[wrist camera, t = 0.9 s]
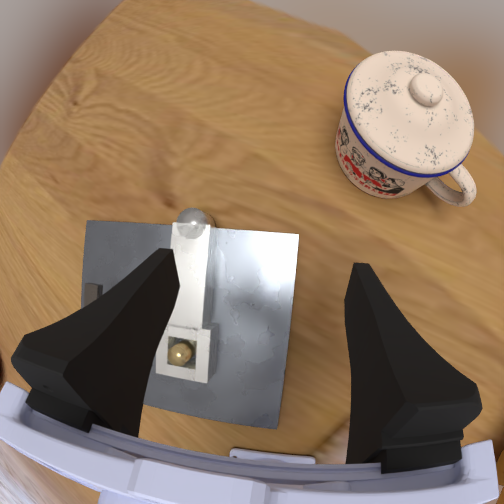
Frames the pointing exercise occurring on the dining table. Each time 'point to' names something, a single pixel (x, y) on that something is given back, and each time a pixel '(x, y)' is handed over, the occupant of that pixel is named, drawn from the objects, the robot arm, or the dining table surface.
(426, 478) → the robot arm
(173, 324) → the link
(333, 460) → the dining table surface
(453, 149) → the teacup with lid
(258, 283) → the base plate
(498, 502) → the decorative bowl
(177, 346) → the peg
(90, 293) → the bracket
